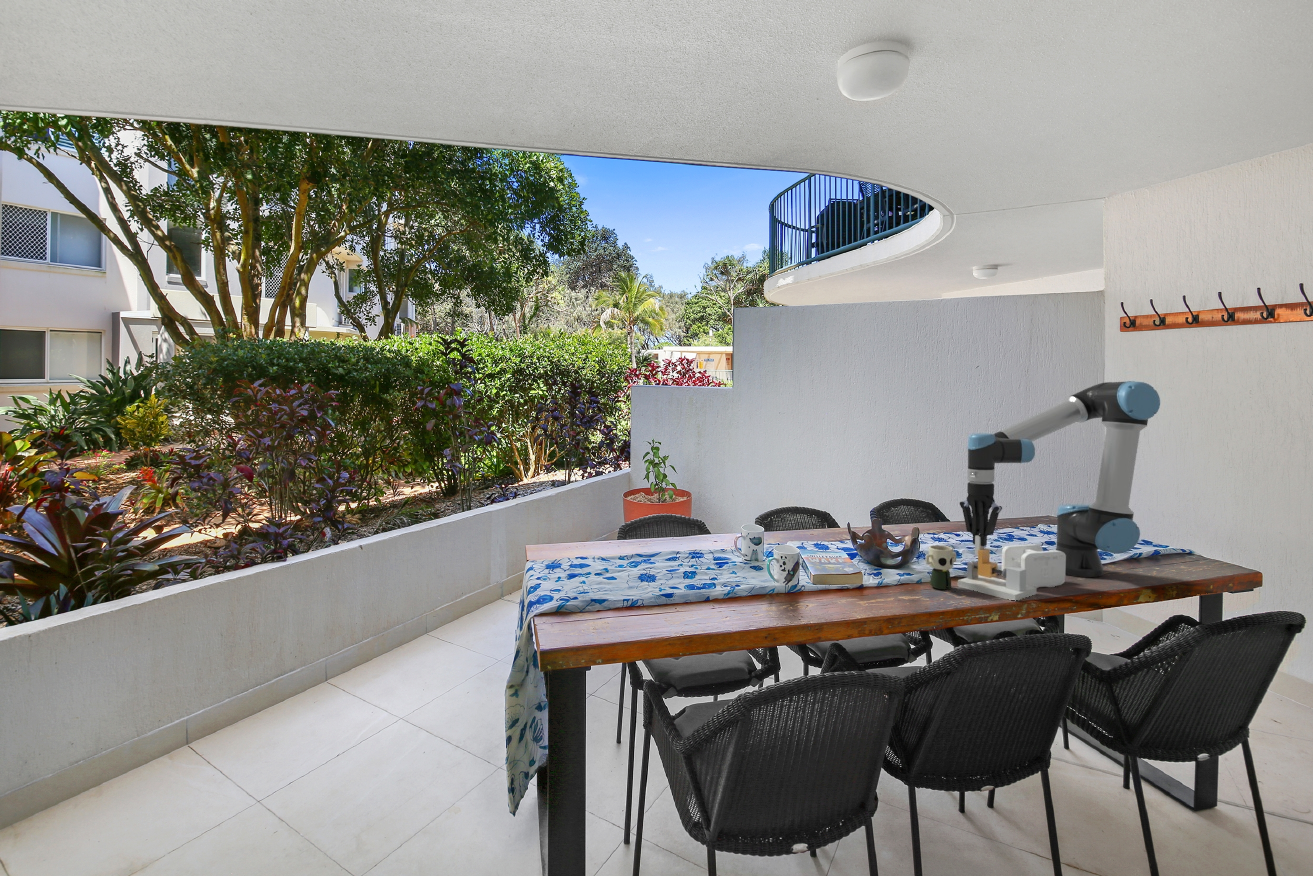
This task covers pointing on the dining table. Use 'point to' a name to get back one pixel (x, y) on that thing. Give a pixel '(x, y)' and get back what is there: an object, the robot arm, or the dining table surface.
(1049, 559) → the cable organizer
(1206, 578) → the dining table surface
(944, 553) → the character mug
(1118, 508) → the robot arm
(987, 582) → the slider rail fixture
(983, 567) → the sleeve
